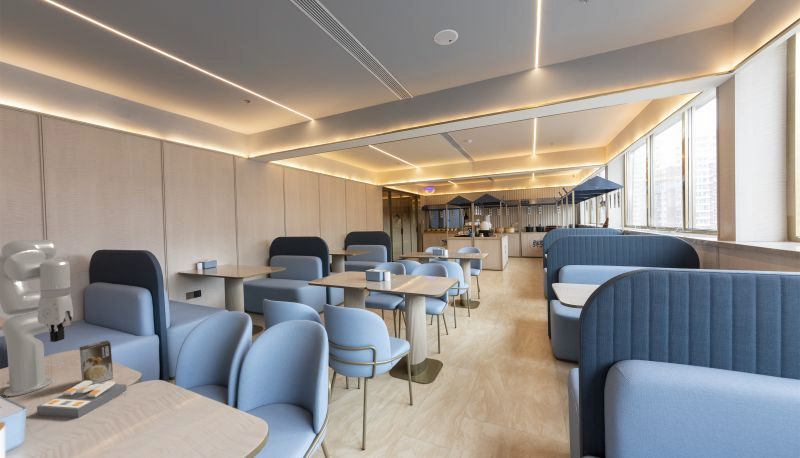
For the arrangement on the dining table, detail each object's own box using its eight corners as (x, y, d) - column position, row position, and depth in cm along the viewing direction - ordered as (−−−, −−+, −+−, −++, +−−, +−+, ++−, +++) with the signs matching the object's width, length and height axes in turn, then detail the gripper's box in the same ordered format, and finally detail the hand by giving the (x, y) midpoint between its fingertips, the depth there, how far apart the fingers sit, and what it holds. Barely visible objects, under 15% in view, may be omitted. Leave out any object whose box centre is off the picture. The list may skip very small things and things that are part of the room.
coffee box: (110, 374, 136) (108, 339, 135) (113, 378, 132) (111, 342, 131) (81, 383, 128) (79, 346, 128) (83, 388, 124) (81, 350, 124)
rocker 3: (87, 396, 112) (87, 394, 111) (108, 383, 118) (107, 380, 118) (95, 397, 111) (94, 394, 111) (115, 383, 118) (114, 381, 117)
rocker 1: (63, 394, 113) (63, 392, 113) (85, 382, 120) (84, 380, 120) (71, 395, 113) (70, 392, 112) (92, 383, 119) (92, 380, 119)
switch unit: (37, 414, 107) (36, 404, 107) (89, 389, 123) (89, 380, 123) (78, 417, 104) (78, 407, 104) (126, 391, 120) (126, 382, 120)
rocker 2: (75, 392, 112) (76, 389, 112) (96, 386, 119) (97, 383, 119) (83, 392, 112) (83, 389, 112) (104, 386, 119) (104, 383, 119)
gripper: (26, 294, 110) (28, 343, 111) (59, 296, 108) (61, 346, 109) (52, 289, 117) (54, 335, 118) (84, 291, 115) (85, 337, 116)
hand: (57, 340), depth 113 cm, fingers closed
